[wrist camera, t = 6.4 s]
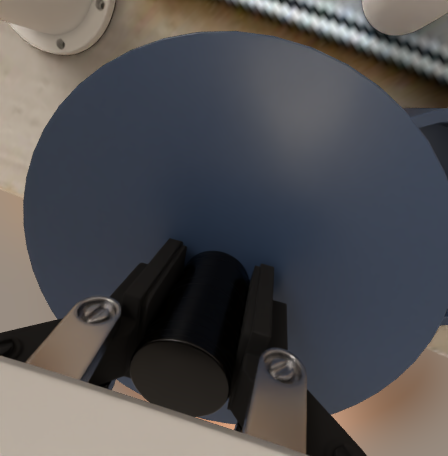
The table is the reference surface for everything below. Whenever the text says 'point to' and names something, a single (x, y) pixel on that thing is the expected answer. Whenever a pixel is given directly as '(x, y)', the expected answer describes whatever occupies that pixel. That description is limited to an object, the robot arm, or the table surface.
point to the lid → (245, 212)
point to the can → (402, 14)
